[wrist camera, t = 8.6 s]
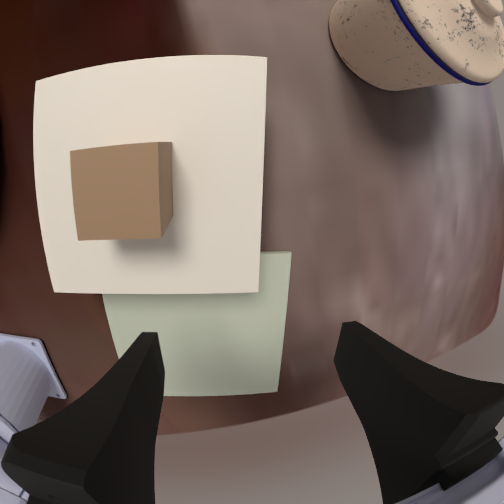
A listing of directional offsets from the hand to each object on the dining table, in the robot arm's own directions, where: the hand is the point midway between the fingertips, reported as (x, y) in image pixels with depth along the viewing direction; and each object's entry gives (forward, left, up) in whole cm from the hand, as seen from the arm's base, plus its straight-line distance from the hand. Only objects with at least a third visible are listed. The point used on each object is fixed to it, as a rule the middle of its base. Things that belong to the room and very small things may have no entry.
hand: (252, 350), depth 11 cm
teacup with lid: (+10, +18, -11) cm, 23 cm away
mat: (-3, -7, -10) cm, 13 cm away
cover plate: (-5, +6, -6) cm, 10 cm away
